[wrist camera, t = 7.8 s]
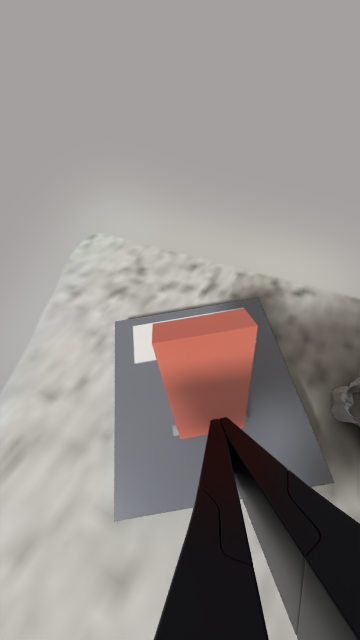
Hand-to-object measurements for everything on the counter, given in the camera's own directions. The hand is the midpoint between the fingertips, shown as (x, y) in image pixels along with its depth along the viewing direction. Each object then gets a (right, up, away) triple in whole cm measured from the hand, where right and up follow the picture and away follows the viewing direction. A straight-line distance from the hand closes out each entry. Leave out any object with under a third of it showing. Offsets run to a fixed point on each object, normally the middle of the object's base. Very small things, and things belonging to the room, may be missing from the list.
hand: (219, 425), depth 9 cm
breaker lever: (+1, -3, +6) cm, 7 cm away
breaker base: (0, -1, +9) cm, 9 cm away
